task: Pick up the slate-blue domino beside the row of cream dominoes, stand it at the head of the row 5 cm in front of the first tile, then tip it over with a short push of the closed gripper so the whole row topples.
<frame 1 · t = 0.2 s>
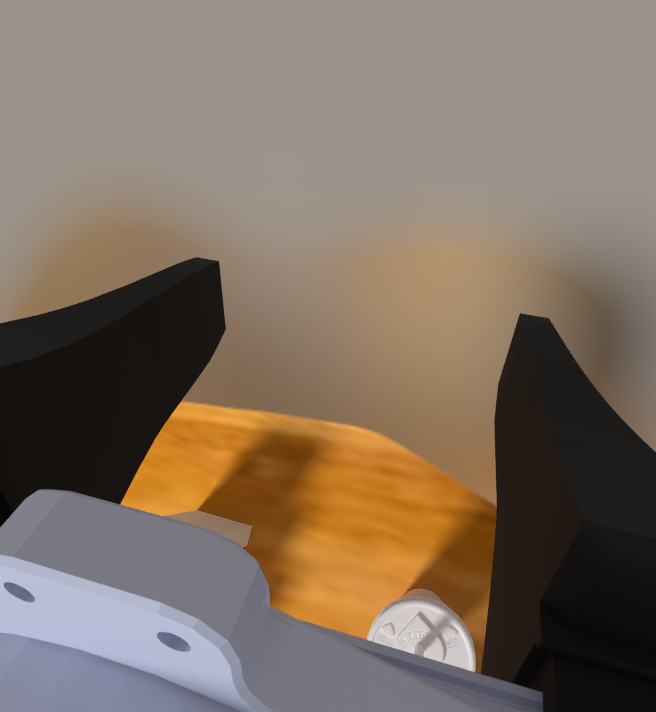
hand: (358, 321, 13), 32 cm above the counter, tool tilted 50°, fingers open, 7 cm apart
smoothie: (421, 613, 41), on the counter
domino 5: (221, 527, 45), on the counter
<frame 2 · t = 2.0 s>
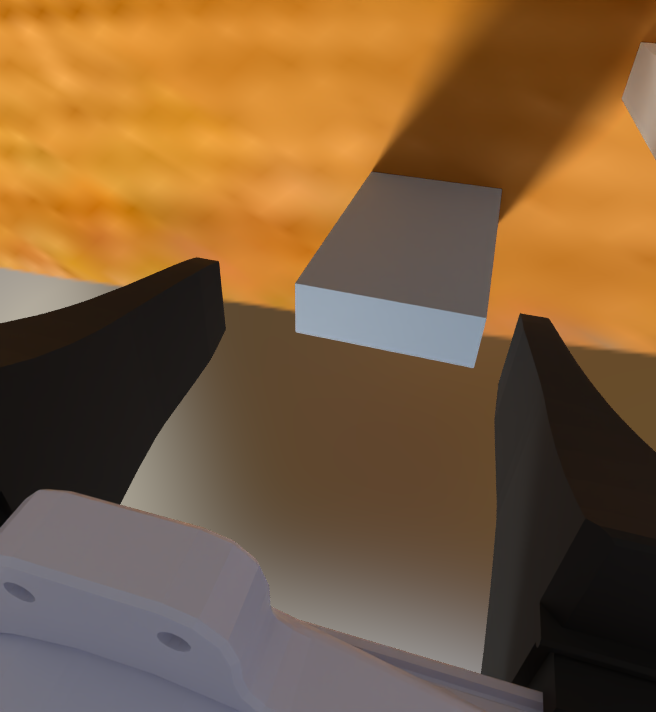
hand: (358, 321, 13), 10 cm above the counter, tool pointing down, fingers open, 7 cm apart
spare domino: (432, 200, 21), on the counter
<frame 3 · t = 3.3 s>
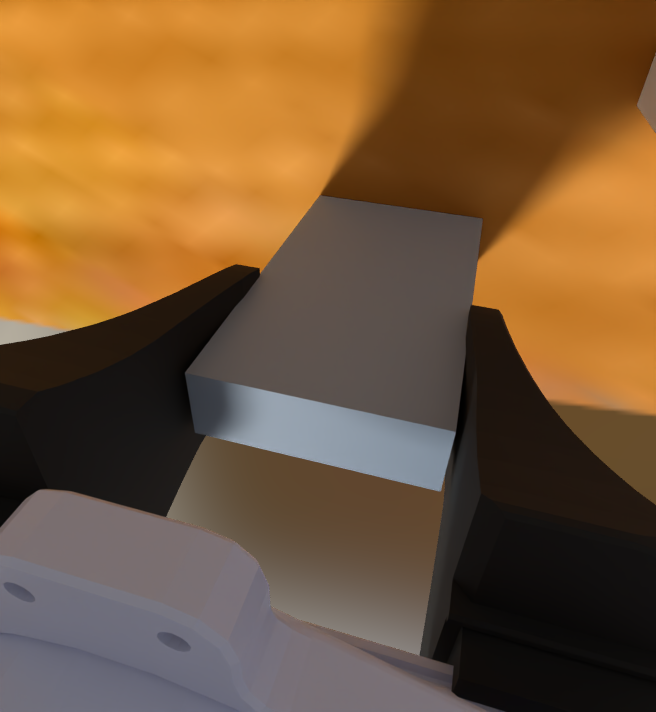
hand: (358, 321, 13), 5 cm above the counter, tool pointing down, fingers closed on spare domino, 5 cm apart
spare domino: (396, 231, 17), on the counter, touching gripper
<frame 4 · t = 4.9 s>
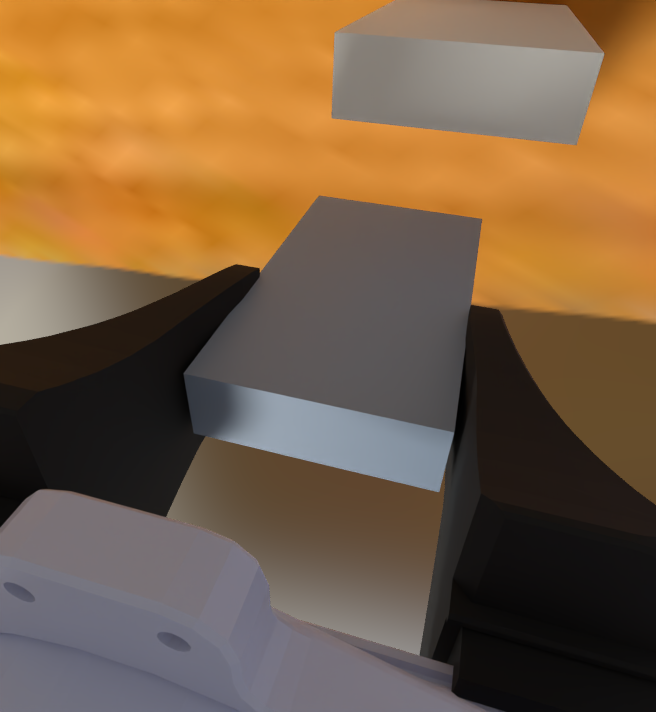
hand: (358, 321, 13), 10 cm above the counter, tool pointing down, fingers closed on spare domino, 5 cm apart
domino 2: (478, 29, 18), on the counter
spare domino: (395, 231, 17), point 5 cm above the counter, touching gripper
when the fingers open (6 cm above the counter, at t = 6.7 s): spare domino stays where it is, on the counter.
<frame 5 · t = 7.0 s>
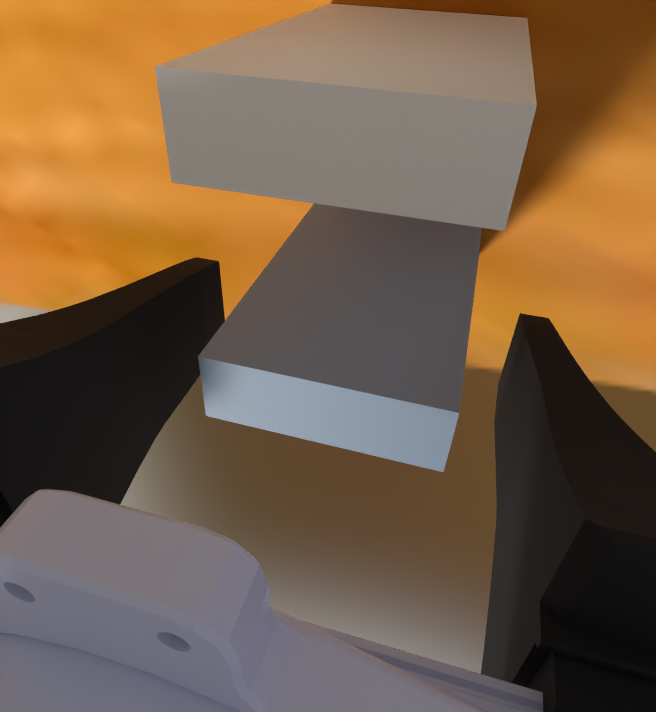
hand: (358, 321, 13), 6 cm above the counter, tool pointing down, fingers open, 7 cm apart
domino 2: (421, 46, 14), on the counter
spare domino: (399, 224, 17), on the counter
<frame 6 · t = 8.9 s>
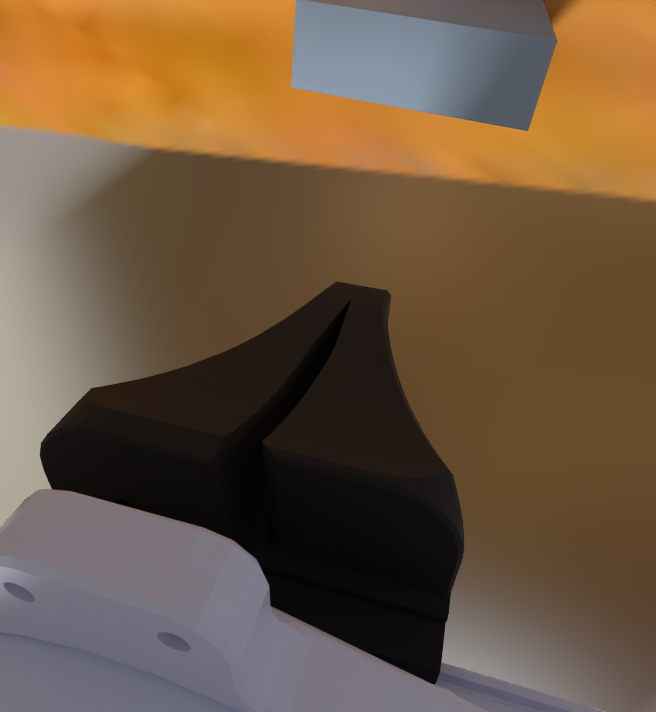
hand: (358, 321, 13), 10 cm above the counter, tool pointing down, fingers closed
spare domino: (455, 14, 18), on the counter
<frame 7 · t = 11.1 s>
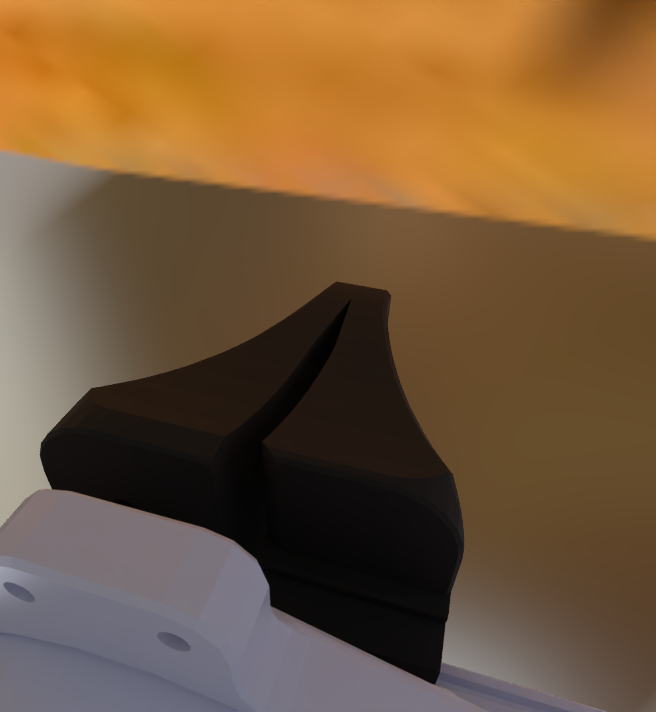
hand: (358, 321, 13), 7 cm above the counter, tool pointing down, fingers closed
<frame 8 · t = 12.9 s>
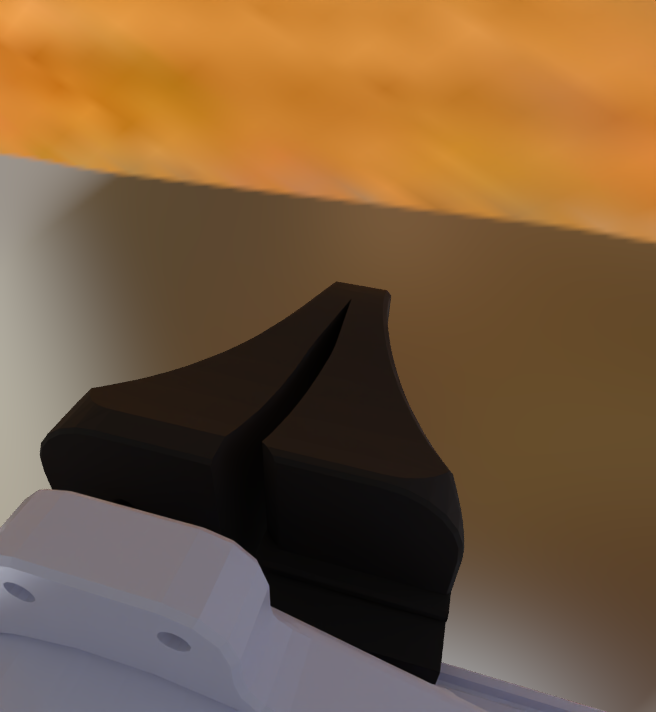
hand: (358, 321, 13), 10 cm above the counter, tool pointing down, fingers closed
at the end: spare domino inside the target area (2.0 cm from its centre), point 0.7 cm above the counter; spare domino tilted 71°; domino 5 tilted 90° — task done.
